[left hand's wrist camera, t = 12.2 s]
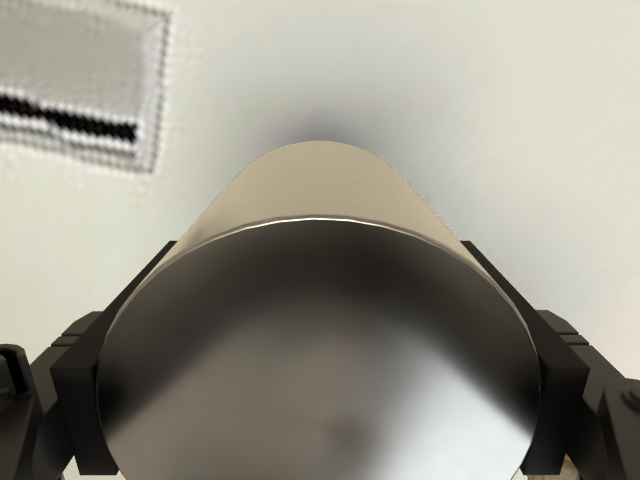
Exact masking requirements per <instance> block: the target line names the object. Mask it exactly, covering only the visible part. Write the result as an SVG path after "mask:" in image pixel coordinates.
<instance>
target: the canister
mask: <svg viewBox="0 0 640 480" xmlns="http://www.w3.org/2000/svg"><path fill="white" fill-rule="evenodd" d="M541 402H542V385H541V371H540V366H539V361H538V356H537V351H536V348H535V345H534V343H533V340H532V337H531V335H530V332H529V330H528V327H527V325H526V323H525V322H524V320H523V318H522V317H521V315H520V313H519V312H518V310H517V308H516V307H515V305H514V303H513V302H512V301H511V300H510V298H509V297H508V296H507V295H506V294H505V292H504V291H503V290H502V289H501V288H500V287H499V285H498V284H497V283H496V282H495V281H494V280H493V278H492V277H491V276H490V275H489V274H488V273H487V272H486V270H485V269H484V268H483V267H482V266H481V265H480V264H479V263H478V261H477V260H476V259H475V258H474V257H473V256H472V255H471V253H470V252H469V251H468V250H467V249H466V248H465V247H464V246H463V244H462V243H461V242H460V241H459V240H458V239H457V238H456V236H455V235H454V234H453V233H452V232H451V231H450V230H449V228H448V227H447V226H446V225H445V224H444V223H443V222H442V221H441V219H440V218H439V217H438V216H437V215H436V214H435V213H434V211H433V210H432V209H431V208H430V207H429V206H428V205H427V204H426V202H425V201H424V200H423V199H422V198H421V197H420V196H419V194H418V193H417V192H416V191H415V190H414V189H413V188H412V187H411V185H410V184H409V183H408V182H407V181H406V180H405V179H404V177H403V176H402V175H401V174H400V173H399V172H398V171H397V170H395V169H394V168H393V167H392V166H391V165H390V164H389V163H387V162H386V161H384V160H383V159H381V158H380V157H378V156H377V155H375V154H372V153H370V152H368V151H366V150H364V149H362V148H359V147H356V146H353V145H350V144H345V143H340V142H334V141H305V142H298V143H294V144H289V145H285V146H283V147H280V148H277V149H275V150H272V151H270V152H268V153H266V154H264V155H263V156H261V157H259V158H257V159H256V160H254V161H253V162H252V163H250V164H249V165H248V166H246V167H245V168H244V169H243V170H242V171H241V172H240V173H239V174H238V175H237V176H236V177H235V178H234V179H233V180H232V181H231V182H230V184H229V185H228V186H227V187H226V188H225V189H224V190H223V191H222V192H221V194H220V195H219V196H218V197H217V198H216V199H215V200H214V201H213V203H212V204H211V205H210V206H209V207H208V208H207V209H206V210H205V211H204V213H203V214H202V215H201V216H200V217H199V218H198V219H197V220H196V221H195V223H194V224H193V225H192V226H191V227H190V228H189V229H188V230H187V232H186V233H185V234H184V235H183V236H182V237H181V238H180V239H179V240H178V242H177V243H176V244H175V245H174V246H173V247H172V248H171V249H170V251H169V252H168V253H167V254H166V255H165V256H164V257H163V258H162V259H161V261H160V262H159V263H158V264H157V265H156V266H155V267H154V268H153V269H152V271H151V272H150V273H149V274H148V275H147V276H146V277H145V278H144V280H143V281H142V282H141V283H140V284H139V285H138V286H137V287H136V289H135V290H134V291H133V293H132V294H131V295H130V297H129V298H128V299H127V300H126V302H125V303H124V304H123V306H122V307H121V308H120V310H119V312H118V313H117V315H116V317H115V319H114V321H113V323H112V325H111V327H110V328H109V330H108V332H107V335H106V338H105V341H104V344H103V347H102V350H101V353H100V356H99V363H98V369H97V376H96V408H97V413H98V418H99V423H100V428H101V431H102V434H103V437H104V439H105V442H106V445H107V448H108V450H109V452H110V454H111V456H112V457H113V459H114V461H115V463H116V465H117V467H118V469H119V470H120V472H121V473H122V474H123V476H124V477H125V478H126V480H512V478H513V477H514V475H515V474H516V472H517V471H518V469H519V468H520V466H521V465H522V463H523V461H524V459H525V457H526V455H527V453H528V451H529V449H530V447H531V444H532V442H533V439H534V435H535V432H536V429H537V426H538V422H539V416H540V409H541Z"/></svg>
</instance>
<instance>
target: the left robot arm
mask: <svg viewBox="0 0 640 480" xmlns="http://www.w3.org/2000/svg"><path fill="white" fill-rule="evenodd" d="M177 242H178V241H169V242H168V243H167V244H166V246H165V247H164V248H163V249H162V250H161V251H160V252H159V253H158V254H157V255H156V256H155V257H154V258H153V259H152V260H151V261H150V262H149V263H148V265H147V266H146V267H145V268H144V269H143V270H142V271H141V272H140V273H139V274H138V275H137V276H136V277H135V278H134V279H133V280H132V281H131V283H130V284H129V285H128V286H127V287H126V288H125V289H124V290H123V291H122V292H121V293H120V294H119V295H118V296H117V297H116V298H115V299H114V300H113V302H112V303H111V304H110V305H109V306H108V307H107V308H106V309H105V310H104V311H92V312H91V313H89V314H87V315H85V316H84V317H82V318H80V319H78V320H77V321H75V322H74V323H72V324H71V325H70V326H69V327H68V328H67V329H66V330H65V331H64V332H63V333H62V336H61V337H58V338H57V339H56V340H55V341H54V342H53V343H52V344H51V347H48V348H47V349H46V350H45V351H44V352H43V353H42V354H41V355H40V356H39V357H38V358H37V359H36V360H35V361H34V362H32V363H31V364H30V365H29V363H28V360H27V357H26V353H25V350H24V349H23V348H22V347H20V346H18V345H13V344H0V480H65V479H64V475H63V471H64V469H65V468H66V466H67V465H68V463H69V462H70V460H71V459H72V457H73V456H75V459H76V463H77V466H78V470H79V473H80V475H117V473H118V471H119V469H118V467H117V465H116V463H115V461H114V459H113V457H112V456H111V454H110V452H109V450H108V448H107V445H106V442H105V439H104V437H103V434H102V431H101V428H100V423H99V418H98V413H97V408H96V376H97V369H98V363H99V356H100V353H101V350H102V347H103V344H104V341H105V338H106V335H107V332H108V330H109V328H110V327H111V325H112V323H113V321H114V319H115V317H116V315H117V313H118V312H119V310H120V308H121V307H122V306H123V304H124V303H125V302H126V300H127V299H128V298H129V297H130V295H131V294H132V293H133V291H134V290H135V289H136V287H137V286H138V285H139V284H140V283H141V282H142V281H143V280H144V278H145V277H146V276H147V275H148V274H149V273H150V272H151V271H152V269H153V268H154V267H155V266H156V265H157V264H158V263H159V262H160V261H161V259H162V258H163V257H164V256H165V255H166V254H167V253H168V252H169V251H170V249H171V248H172V247H173V246H174V245H175V244H176V243H177ZM460 242H461V243H462V244H463V246H464V247H465V248H466V249H467V250H468V251H469V252H470V253H471V255H472V256H473V257H474V258H475V259H476V260H477V261H478V263H479V264H480V265H481V266H482V267H483V268H484V269H485V270H486V272H487V273H488V274H489V275H490V276H491V277H492V278H493V280H494V281H495V282H496V283H497V284H498V285H499V287H500V288H501V289H502V290H503V291H504V292H505V294H506V295H507V296H508V297H509V298H510V300H511V301H512V302H513V303H514V305H515V307H516V308H517V310H518V312H519V313H520V315H521V317H522V318H523V320H524V322H525V323H526V325H527V327H528V330H529V332H530V335H531V337H532V340H533V343H534V345H535V348H536V351H537V356H538V361H539V366H540V371H541V385H542V402H541V409H540V416H539V422H538V426H537V429H536V432H535V435H534V439H533V442H532V444H531V447H530V449H529V451H528V453H527V455H526V457H525V459H524V461H523V463H522V465H521V466H520V469H521V471H522V473H523V475H560V472H561V469H562V465H563V462H564V458H565V455H566V454H567V456H568V457H569V459H570V460H571V462H572V463H573V465H574V466H575V468H576V469H577V471H578V472H577V475H576V479H575V480H640V380H635V379H628V378H625V377H624V376H623V375H622V374H621V373H620V372H619V371H618V370H617V369H615V368H614V367H613V366H612V365H611V364H610V363H609V362H608V361H607V360H606V359H605V358H604V357H603V356H602V355H601V354H600V353H599V352H598V351H597V350H596V349H595V348H594V347H593V346H589V342H588V341H587V340H586V339H584V338H583V337H582V336H581V335H579V334H578V332H577V331H576V330H575V329H574V328H573V327H572V326H571V325H570V324H569V323H568V322H567V321H566V320H564V319H562V318H561V317H559V316H557V315H555V314H554V313H552V312H550V311H548V310H535V309H534V308H533V307H532V306H531V305H530V304H529V303H528V302H527V301H526V300H525V299H524V298H523V297H522V296H521V294H520V293H519V292H518V291H517V290H516V289H515V288H514V287H513V286H512V285H511V284H510V283H509V282H508V281H507V280H506V279H505V278H504V276H503V275H502V274H501V273H500V272H499V271H498V270H497V269H496V268H495V267H494V266H493V265H492V264H491V263H490V262H489V261H488V260H487V258H486V257H485V256H484V255H483V254H482V253H481V252H480V251H479V250H478V249H477V248H476V247H475V246H474V245H473V244H472V243H471V242H470V241H460Z"/></svg>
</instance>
